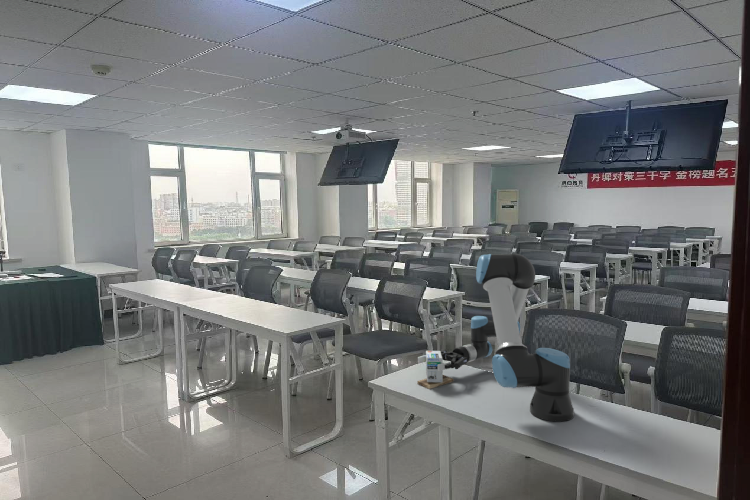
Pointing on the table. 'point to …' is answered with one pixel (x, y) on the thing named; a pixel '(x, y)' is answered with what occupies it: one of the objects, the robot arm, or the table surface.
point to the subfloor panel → (435, 384)
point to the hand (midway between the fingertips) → (427, 364)
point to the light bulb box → (433, 366)
